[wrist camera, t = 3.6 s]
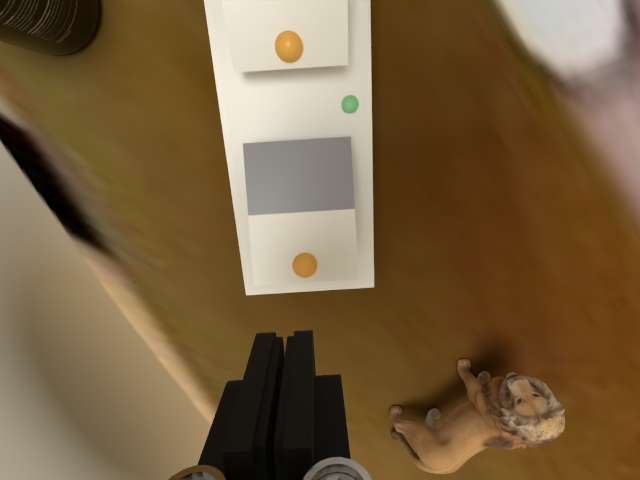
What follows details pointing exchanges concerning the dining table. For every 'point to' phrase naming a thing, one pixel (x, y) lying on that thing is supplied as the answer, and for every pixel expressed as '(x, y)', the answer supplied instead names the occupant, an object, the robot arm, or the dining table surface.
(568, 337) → the dining table surface
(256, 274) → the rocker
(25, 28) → the supplement bottle
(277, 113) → the strip
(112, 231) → the dining table surface
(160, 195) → the dining table surface
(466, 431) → the lion figurine
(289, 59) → the rocker
